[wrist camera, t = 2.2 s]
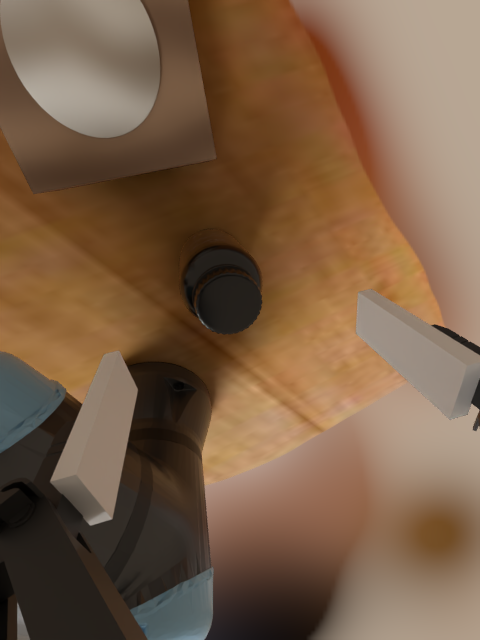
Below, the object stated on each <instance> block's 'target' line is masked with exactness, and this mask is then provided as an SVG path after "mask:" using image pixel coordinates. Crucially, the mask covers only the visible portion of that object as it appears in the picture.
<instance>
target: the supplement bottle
mask: <svg viewBox="0 0 480 640" xmlns="http://www.w3.org/2000/svg"><path fill="white" fill-rule="evenodd" d="M179 286H180V294H181V297H182V300H183V302H184V304H185V306H186V307H187V309H188V310H189V311H190V312H191V313H192V314H193V315H194V316H195V317H197V318H198V319H199V320H200V321H201V322H202V324H203V325H205V326H206V328H207V329H210V330H211V331H212V332H216V333H218V334H220V333H222V334H233V333H238V332H239V331H243V330H244V329H246V328H248V327H249V326H250V325H251V324H253V322H254V321H255V320H256V319H257V316H258V315H259V314H260V310H261V304H262V295H261V292H262V275H261V271H260V268H259V266H258V264H257V263H256V261H255V260H254V258H253V257H252V256H251V255H250V254H249V253H248V252H247V251H246V250H245V249H244V248H243V247H242V246H241V244H240V243H239V242H238V241H237V240H236V239H235V238H234V237H232V236H231V235H230V234H228V233H226V232H224V231H221V230H217V229H206V230H202V231H199V232H197V233H195V234H194V235H192V236H191V237H190V238H189V239H188V240H187V241H186V242H185V244H184V245H183V247H182V250H181V253H180V259H179Z"/></svg>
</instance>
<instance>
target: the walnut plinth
mask: <svg viewBox="0 0 480 640" xmlns="http://www.w3.org/2000/svg"><path fill="white" fill-rule="evenodd" d="M0 128H1V130H2V132H3V134H4V136H5V138H6V140H7V142H8V144H9V146H10V148H11V150H12V152H13V154H14V156H15V158H16V160H17V162H18V164H19V166H20V168H21V170H22V172H23V174H24V176H25V178H26V180H27V182H28V184H29V186H30V188H31V190H32V192H33V194H37V193H44V192H51V191H57V190H63V189H68V188H73V187H78V186H83V185H88V184H94V183H99V182H104V181H109V180H114V179H119V178H125V177H130V176H135V175H140V174H145V173H151V172H156V171H161V170H166V169H171V168H176V167H182V166H187V165H192V164H197V163H202V162H207V161H212V160H215V159H217V157H216V152H215V146H214V141H213V135H212V130H211V124H210V119H209V113H208V108H207V102H206V97H205V91H204V86H203V80H202V75H201V69H200V64H199V58H198V53H197V47H196V42H195V36H194V31H193V25H192V20H191V14H190V9H189V3H188V0H0Z"/></svg>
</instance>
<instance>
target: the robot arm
mask: <svg viewBox="0 0 480 640" xmlns="http://www.w3.org/2000/svg"><path fill="white" fill-rule="evenodd" d="M356 334H357V335H358V336H359V337H360V338H361V339H363V340H364V341H365V342H366V343H367V344H368V345H369V346H370V347H371V348H372V349H373V350H375V351H376V352H377V353H378V354H379V355H380V356H381V357H382V358H383V359H384V360H385V361H386V362H388V363H389V364H390V365H391V366H392V367H393V368H394V369H395V370H396V371H397V372H398V373H400V374H401V375H402V376H403V377H404V378H405V379H406V380H407V381H408V382H409V383H410V384H411V385H413V386H414V387H415V388H416V389H417V390H418V391H419V392H420V393H421V394H422V395H423V396H425V397H426V398H427V399H428V400H429V401H430V402H431V403H432V404H433V405H434V406H435V407H437V408H438V409H439V410H440V411H441V412H442V413H443V414H444V415H445V416H446V417H447V418H448V419H450V420H451V419H454V418H458V417H461V416H465V415H467V414H468V412H469V409H470V406H471V404H473V405H474V406H476V407H477V408H478V409H479V410H480V347H479V346H477V345H475V344H474V343H472V342H468V340H467V339H465V338H463V337H462V336H461V337H460V336H459V335H458V334H456V333H455V332H453V331H451V330H449V329H447V328H444V327H441V326H438V325H429V324H428V323H426V322H424V321H423V320H421V319H419V318H418V317H416V316H415V315H413V314H411V313H410V312H408V311H406V310H405V309H403V308H401V307H400V306H398V305H397V304H395V303H393V302H392V301H390V300H388V299H387V298H385V297H384V296H382V295H380V294H379V293H377V292H375V291H374V290H372V289H368V290H364V291H360V292H358V304H357V322H356ZM210 421H211V403H210V396H209V392H208V390H207V388H206V386H205V384H204V383H203V382H202V380H201V379H200V378H199V377H197V376H196V375H195V374H194V373H192V372H191V371H189V370H187V369H185V368H182V367H180V366H177V365H173V364H169V363H161V362H148V363H140V364H135V365H132V366H128V367H127V366H126V364H125V362H124V360H123V358H122V356H121V354H120V352H119V351H115V352H111V353H107V354H104V355H103V358H102V360H101V362H100V365H99V367H98V369H97V372H96V374H95V376H94V379H93V381H92V384H91V386H90V388H89V391H88V393H87V395H86V398H85V400H84V402H83V404H81V403H80V402H79V401H78V400H76V399H75V398H74V397H73V396H71V395H70V394H69V393H67V392H66V388H64V387H63V386H62V385H61V384H60V383H58V382H57V381H54V380H49V379H48V378H46V377H45V376H44V375H42V374H41V373H39V372H38V371H36V370H35V369H34V368H32V367H31V366H29V365H28V364H26V363H25V362H23V361H22V360H21V359H19V358H18V357H16V356H14V355H12V354H9V353H6V352H2V351H0V640H204V639H205V637H206V636H207V634H208V631H209V629H210V627H211V623H212V617H213V567H211V558H210V547H209V535H208V523H207V512H206V500H205V488H204V476H203V466H202V450H203V446H204V443H205V439H206V435H207V432H208V428H209V424H210ZM478 426H480V411H479V413H478V416H477V418H476V421H475V423H474V426H473V430H474V431H476V430H477V428H478Z"/></svg>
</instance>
